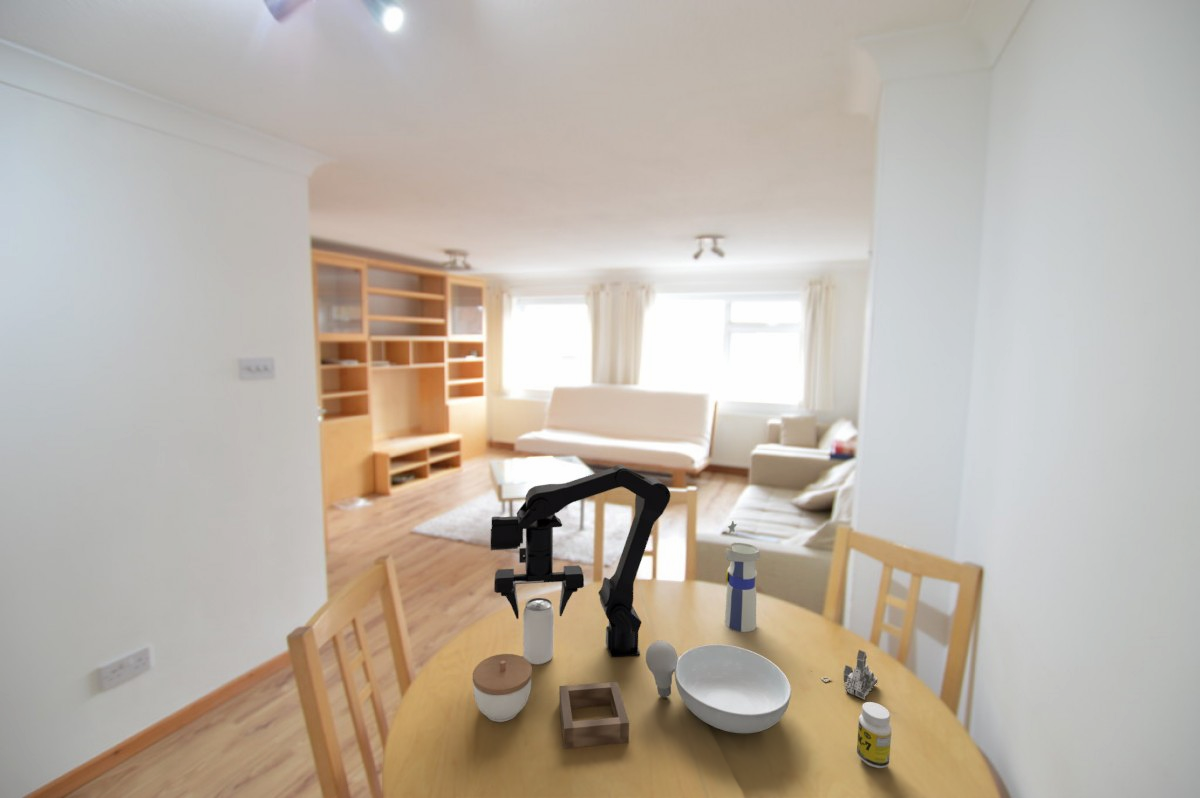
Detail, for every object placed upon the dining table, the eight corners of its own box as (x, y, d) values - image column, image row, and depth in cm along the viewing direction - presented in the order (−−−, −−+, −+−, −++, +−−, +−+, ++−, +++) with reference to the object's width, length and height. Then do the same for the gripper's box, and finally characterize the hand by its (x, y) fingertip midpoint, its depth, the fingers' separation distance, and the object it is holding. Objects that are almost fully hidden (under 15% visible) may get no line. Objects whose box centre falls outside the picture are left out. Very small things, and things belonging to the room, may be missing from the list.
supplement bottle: (850, 747, 86) (853, 700, 85) (877, 745, 86) (880, 699, 86) (867, 770, 81) (871, 720, 80) (895, 768, 82) (899, 719, 81)
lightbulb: (683, 687, 100) (678, 635, 98) (677, 710, 94) (672, 654, 93) (653, 683, 102) (648, 632, 100) (645, 705, 96) (640, 651, 95)
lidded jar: (532, 728, 89) (533, 677, 88) (470, 734, 87) (470, 683, 86) (531, 688, 99) (531, 643, 99) (475, 693, 98) (474, 647, 97)
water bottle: (716, 625, 124) (720, 526, 122) (729, 611, 131) (733, 517, 129) (750, 636, 119) (754, 533, 117) (761, 621, 126) (765, 524, 124)
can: (555, 649, 113) (556, 597, 112) (549, 667, 106) (550, 612, 105) (527, 647, 113) (527, 595, 112) (519, 664, 107) (520, 610, 106)
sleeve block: (616, 698, 97) (617, 681, 97) (628, 742, 86) (629, 722, 86) (559, 703, 95) (559, 686, 95) (564, 748, 84) (564, 728, 84)
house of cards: (837, 662, 111) (839, 628, 110) (881, 681, 104) (883, 645, 104) (819, 679, 105) (821, 643, 104) (864, 700, 98) (866, 663, 98)
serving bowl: (789, 768, 81) (791, 728, 81) (662, 732, 88) (663, 695, 88) (789, 689, 101) (790, 656, 100) (684, 665, 108) (685, 634, 107)
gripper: (578, 531, 117) (578, 596, 119) (496, 535, 114) (497, 601, 116) (584, 550, 106) (583, 621, 108) (494, 554, 103) (494, 627, 105)
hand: (539, 616), depth 109 cm, fingers open, 9 cm apart
